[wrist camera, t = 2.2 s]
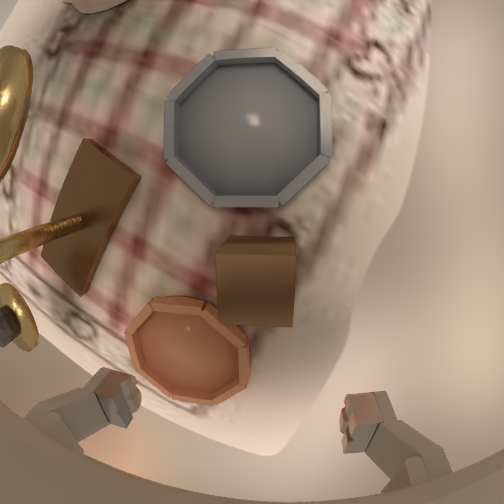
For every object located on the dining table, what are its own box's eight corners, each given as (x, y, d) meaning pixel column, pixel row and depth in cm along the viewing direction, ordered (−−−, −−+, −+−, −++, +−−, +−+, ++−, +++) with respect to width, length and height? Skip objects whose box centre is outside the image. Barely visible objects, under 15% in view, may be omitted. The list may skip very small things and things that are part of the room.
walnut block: (229, 235, 22) (214, 253, 17) (293, 236, 21) (296, 256, 16) (231, 293, 23) (218, 323, 18) (291, 295, 23) (292, 327, 18)
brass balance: (124, 82, 19) (-62, 27, 1) (180, 116, 19) (-51, 43, 1) (39, 288, 26) (-68, 362, 8) (75, 325, 27) (-27, 421, 9)
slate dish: (175, 66, 18) (167, 59, 16) (324, 58, 17) (327, 50, 15) (174, 205, 21) (165, 208, 20) (327, 206, 20) (331, 209, 18)
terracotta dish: (125, 290, 24) (116, 298, 23) (249, 300, 23) (246, 310, 21) (148, 382, 28) (142, 392, 26) (250, 397, 26) (248, 409, 25)
